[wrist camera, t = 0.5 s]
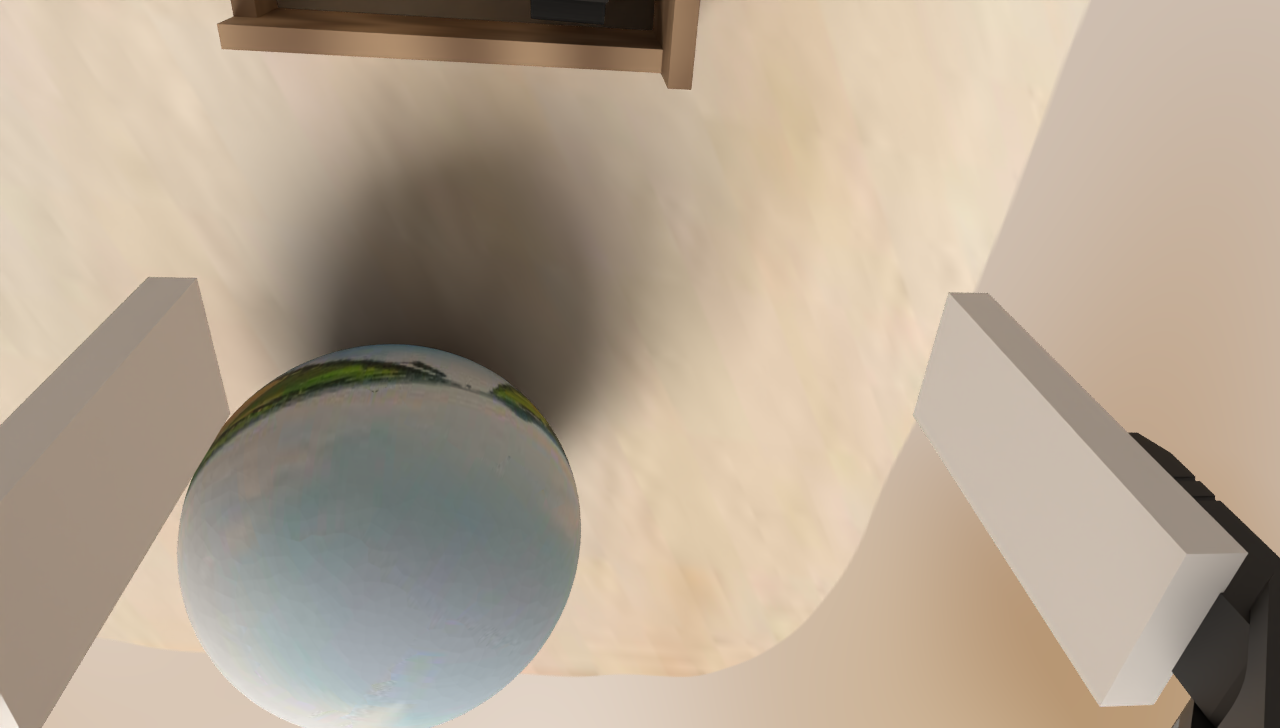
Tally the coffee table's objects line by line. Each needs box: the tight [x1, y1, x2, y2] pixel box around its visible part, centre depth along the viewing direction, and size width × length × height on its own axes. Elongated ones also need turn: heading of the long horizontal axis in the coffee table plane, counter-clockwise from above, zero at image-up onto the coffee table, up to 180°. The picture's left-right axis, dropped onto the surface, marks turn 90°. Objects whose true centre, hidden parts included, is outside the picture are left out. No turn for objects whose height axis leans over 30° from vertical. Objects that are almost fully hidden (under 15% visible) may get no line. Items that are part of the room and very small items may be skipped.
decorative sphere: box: [177, 344, 581, 728], centre depth 43 cm, size 20×20×20 cm
